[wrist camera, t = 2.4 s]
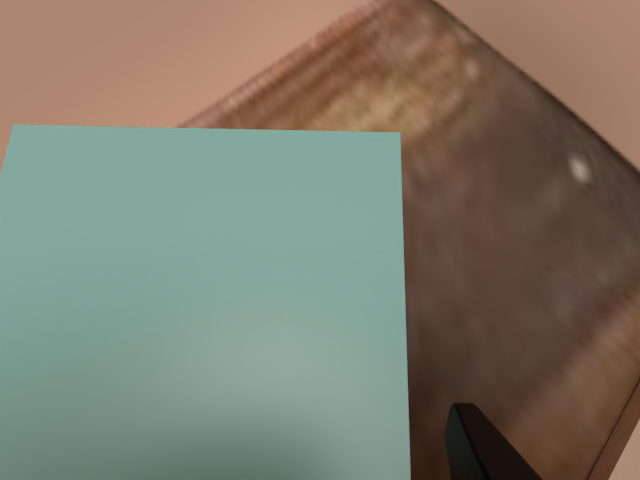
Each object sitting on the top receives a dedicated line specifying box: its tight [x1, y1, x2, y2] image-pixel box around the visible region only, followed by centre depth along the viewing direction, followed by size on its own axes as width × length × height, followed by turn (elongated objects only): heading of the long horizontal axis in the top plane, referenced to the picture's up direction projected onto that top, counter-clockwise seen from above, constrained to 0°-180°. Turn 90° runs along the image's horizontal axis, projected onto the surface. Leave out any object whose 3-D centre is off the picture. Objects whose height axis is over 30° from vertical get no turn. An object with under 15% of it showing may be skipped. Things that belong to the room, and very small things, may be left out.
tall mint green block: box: [0, 125, 411, 480], centre depth 11 cm, size 6×6×12 cm
